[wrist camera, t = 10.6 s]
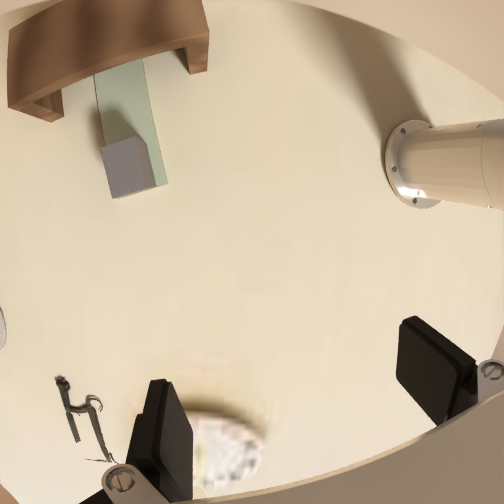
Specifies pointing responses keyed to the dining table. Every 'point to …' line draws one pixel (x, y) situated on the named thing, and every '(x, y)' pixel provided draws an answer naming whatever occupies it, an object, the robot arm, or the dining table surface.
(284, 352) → the dining table surface
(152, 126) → the sage green plank
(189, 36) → the bench
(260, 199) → the dining table surface
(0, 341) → the chalice
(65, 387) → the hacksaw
